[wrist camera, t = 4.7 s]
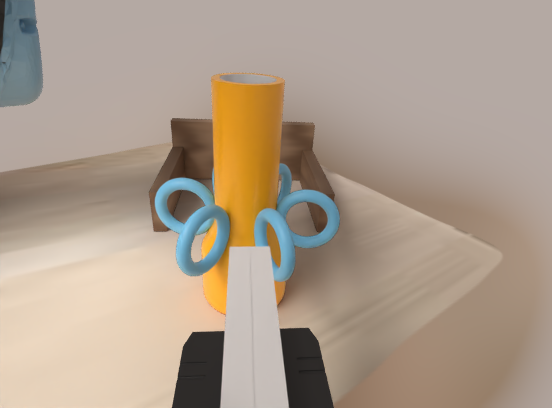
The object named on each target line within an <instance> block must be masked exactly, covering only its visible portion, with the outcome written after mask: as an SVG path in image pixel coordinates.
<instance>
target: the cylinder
mask: <svg viewBox="0 0 552 408" xmlns="http://www.w3.org/2000/svg"><path fill="white" fill-rule="evenodd" d="M284 85H285V80H284V79H282V78H280V77H276V76H271V75H263V74H254V73H223V74H217V75H213V76H212V77H211V87H212V122H213V158H214V167H213V172H212V184H213V192H214V195H213V194H212V192H211V191H210V190H209V189H208V188H207V187H206V186H205V185H203V184H202V183H200V182H198V181H196V180H193V179H189V178H175V179H171V180H169V181H167V182H165V183H164V184H163V185H162V186H161V187H160V188H159V190H158V191H157V194H156V197H155V208H156V212H157V214H158V216H159V218H160V220H161V221H162V222H163V223H164V224H165V225H166V226H167V227H168V228H169V229H171V230H173V231H174V232H176V233H179V234H180V235H179V238H178V241H177V246H176V259H177V263H178V266H179V268H180V269H181V270H182V271H183V272H184V273H185V274H187V275H189V276H200V275H202V274H203V289H204V295H205V298H206V300H207V301H208V303H209V304H210V305H211V306H212V307H213V308H214V309H215V310H217V311H219V312H220V313H222V314H225V315H226V301H227V284H228V266H229V249H230V247H266V246H270V252H271V260H272V268H273V277H274V285H275V294H276V302H277V305H278V304H279V303H280V301H281V300H282V298H283V296H284V293H285V285H286V280H288V279H289V278H290V277H291V275H292V273H293V271H294V267H295V246H297V247H301V248H314V247H318V246H321V245H323V244H325V243H327V242H328V241H330V240H331V239H332V238H333V237H334V235H335V234H336V232H337V230H338V228H339V224H340V215H339V211H338V208H337V206H336V205H335V203H334V202H333V201H332V200H331V199H330V198H329V197H328V196H326V195H325V194H323V193H321V192H318V191H315V190H298V191H295V192H292V193H290V190H291V183H292V178H291V172H290V170H289V168H288V167H287V166H286V165H285V164H282V163H280V149H281V133H282V116H283V101H284ZM279 174H281V177H282V185H281V190H280V194H279V196H278V182H279ZM176 190H188V191H191V192H193V193H195V194H197V195H198V196H199V197H200V198H201V199H202V200H203V202H204V204H205V206H203V207H201V208H199V209H198V210H197V211H195V212H194V213H193V214H192V215H191V216H190V217H189V219H188V220H187V221H186V223H182V222H180V221H178V220H177V219H175V218H174V217H173V216H172V215H171V213H170V212H169V210H168V207H167V199H168V197H169V195H170V194H171V193H172V192H174V191H176ZM300 202H312V203H315V204H317V205H319V206H321V207H322V208H323V209H324V210H325V212H326V214H327V217H328V222H327V226H326V227H325V229H324V230H323V231H322V232H321V233H319V234H317V235H314V236H308V237H307V236H300V235H298V234H296V233H294V232H293V231H291V230H290V229H289V226H288V224H287V222H286V214H287V212H288V210H289V209H290V208H291V207H292V206H293V205H295V204H297V203H300ZM206 231H208V232H207V233H206V235H205V237H204V239H203V242H202V249H201V252H202V260H201V261H199V262H196V263H195V262H193V261H192V258H191V247H192V243H193V240H194V237H195V235H199V234H202V233H205V232H206Z"/></svg>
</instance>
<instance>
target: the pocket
mask: <svg viewBox="0 0 552 408" xmlns="http://www.w3.org/2000/svg"><path fill="white" fill-rule="evenodd" d="M314 128H315V125H314V123H305V122H282V133H281V149H280V163H282V164H285V165H286V166H287V167H288V168H289V170H290V172H291V178H292V180H300V183H301V186H302V189H303V190H315V191H318V192H321V193H323V194H325V195H326V196H328V197H329V198H330V199H331V200H332V201H333V202H334V196H335V194H334V192H333V190H332V188H331V186H330V184H329V182H328V180H327V178H326V176H325V174H324V172H323V170H322V168H321V166H320V164H319V163H318V161H317V159H316V157H315V155H314V153H313V151H312V147H313V138H314ZM171 130H172V142H173V147H172V149H171V151H170V153H169V155H168V157H167V159H166V161H165V163H164V165H163V166H162V168H161V170H160V172H159V174H158V176H157V178H156V180H155V182H154V184H153V186H152V187H151V189H150V191H149V196H150V204H151V212H152V220H153V228H154V231H168V227H167V226H166V225H165V224H164V223H163V222H162V221H161V220H160V218H159V216H158V214H157V212H156V208H155V197H156V194H157V191H158V190H159V188H160V187H161V186H162V185H163V184H164V183H165V182H167V181H169V180H171V179H175V178H190V179H212V172H213V167H214V158H213V122H212V120H210V119H180V118H173V119H172V120H171ZM279 180H282V177H281V174H279ZM180 193H181V190H176V191H174V192H172V193H171V194H170V195H169V197H168V199H167V207H168V210H169V212H170V213H171V215H172V216H173V213H174V211H175V208H176V205H177V202H178V199H179V196H180ZM307 204H308V207H309V210H310V213H311V216H312V218H313V221H314V224H315V227H316V230H317V232H322V231H323V230H324V229H325V227H326V226H327V222H328V217H327V214H326V212H325V210H324V209H323V208H322V207H321V206H319V205H317V204H315V203H312V202H307Z"/></svg>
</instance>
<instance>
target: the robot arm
mask: <svg viewBox="0 0 552 408" xmlns="http://www.w3.org/2000/svg"><path fill="white" fill-rule="evenodd" d="M36 23H37V21H36V15H35V2H34V0H0V107H7V106H19V105H27V104H30V103H32V102H34V101H35V100H36V99H37V98H38V97H39V96H40V94H41V92H42V88H43V74H42V61H41V51H40V43H39V35H38V30H37V27H36ZM172 408H334V407H333V402H332V398H331V394H330V389H329V385H328V381H327V376H326V373H325V368H324V364H323V360H322V355H321V351H320V346H319V342H318V340H317V339H316V337H315V336H314V335H313V333H312V332H311V331H310V329H309V328H288V329H280V328H279V319H278V311H277V302H276V294H275V285H274V277H273V268H272V260H271V252H270V246H266V247H230V249H229V266H228V284H227V301H226V318H225V331H214V332H192V334H191V335H190V337H189V338H188V340H187V341H186V343H185V344H184V346H183V350H182V356H181V361H180V367H179V372H178V380H177V383H176V389H175V394H174V400H173V405H172Z"/></svg>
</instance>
